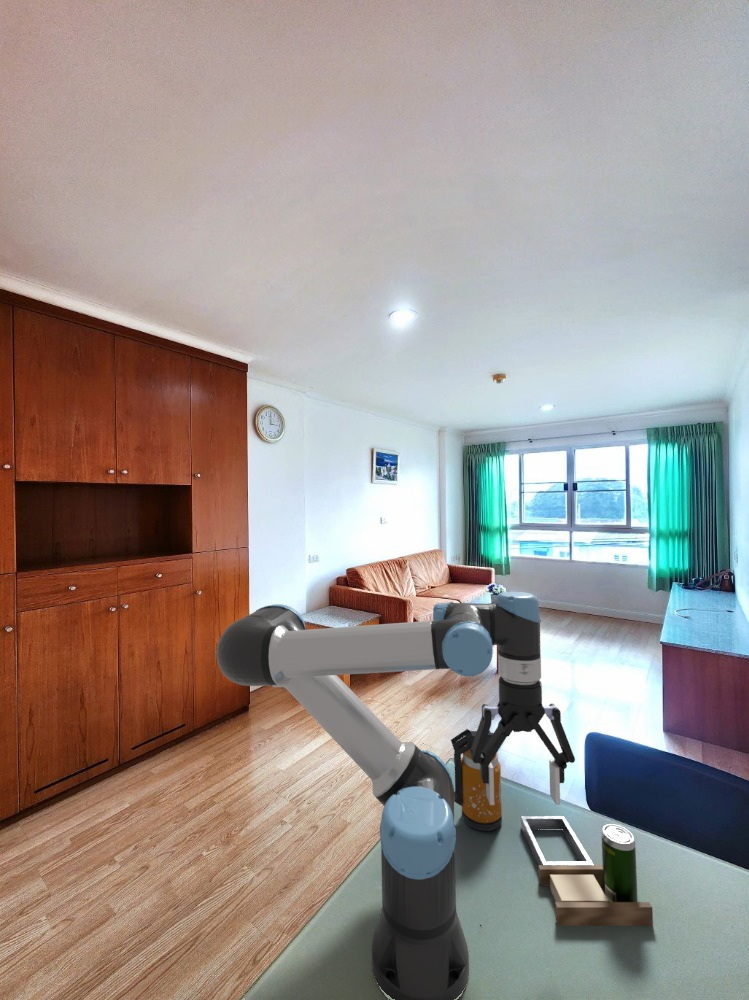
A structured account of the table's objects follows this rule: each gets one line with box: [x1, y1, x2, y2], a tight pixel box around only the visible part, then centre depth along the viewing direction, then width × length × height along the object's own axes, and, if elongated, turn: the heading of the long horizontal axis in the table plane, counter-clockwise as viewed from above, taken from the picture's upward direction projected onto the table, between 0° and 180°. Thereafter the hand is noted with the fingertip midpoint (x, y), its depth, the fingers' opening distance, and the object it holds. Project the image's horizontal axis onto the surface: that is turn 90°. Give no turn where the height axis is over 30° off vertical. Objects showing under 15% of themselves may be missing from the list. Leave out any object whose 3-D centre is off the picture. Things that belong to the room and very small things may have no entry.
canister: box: [450, 728, 503, 831], centre depth 100 cm, size 9×11×20 cm
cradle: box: [520, 815, 594, 866], centre depth 90 cm, size 14×10×2 cm
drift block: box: [549, 875, 608, 902], centre depth 78 cm, size 8×6×3 cm
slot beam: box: [537, 864, 654, 927], centre depth 78 cm, size 16×9×3 cm, turn 89°
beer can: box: [601, 823, 639, 902], centre depth 78 cm, size 5×5×12 cm
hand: (522, 800), depth 79 cm, fingers open, 11 cm apart
